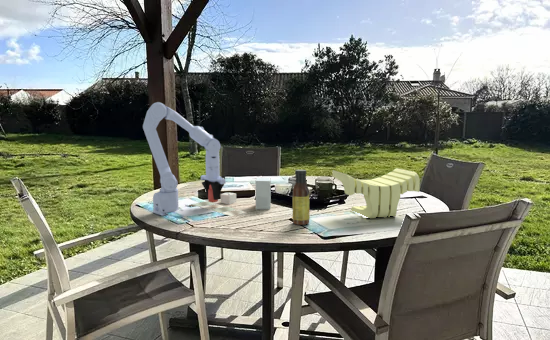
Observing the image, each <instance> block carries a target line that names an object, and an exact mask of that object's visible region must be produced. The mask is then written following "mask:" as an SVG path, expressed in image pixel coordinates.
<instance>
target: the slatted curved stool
mask: <svg viewBox="0 0 550 340" xmlns="http://www.w3.org/2000/svg"><path fill="white" fill-rule="evenodd" d="M332 177H333V178H335V179H337V180H338V181H340V183H342V186H343V190H344V194H345V195H347V196H352V195H355V194H357V195H359V194H360V195H363V198H364V200H365V203H366V204H365V205H360V206H357V205H355V206H351V208H350V210H352V211H355V212H357V213H360V214H362V215H364V216H366V217H368V218H370V219H377V218H376V217H384V218H391V217H390V216H395V217H396V216H397V212H398V211H397V210H398V205H399V202H400V200H401V195H404V194H405V193H408V192H416V193H417V192H418V193H419V192H420V182H421V179H420V176H419V174H418V173H417V172H415V171H411V170H407V169H403V168H399V167H397V168H394V169H393V170H392V171H390V172H388V173H386V174H384V175H381V176H380V177H375V178H371V179H357V178H355V177H353V176H351V175H349V174H347V173H344V172H340V171H337V170H334V169H332ZM387 216H388V217H387Z"/></svg>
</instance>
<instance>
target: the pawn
mask: <svg viewBox="0 0 550 340" xmlns="http://www.w3.org/2000/svg"><path fill="white" fill-rule="evenodd" d="M207 202H212V203H216V202H219V199H218V200H214V198H213V190H212V187H211V184H210V186H209V189H208V198H207Z"/></svg>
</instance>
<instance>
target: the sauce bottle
mask: <svg viewBox="0 0 550 340" xmlns="http://www.w3.org/2000/svg"><path fill="white" fill-rule="evenodd" d="M294 173H295V183H294V185H293V187H292V222H293V224H294V225H297V226H306V224H307V225H309V223H310V219H311V218H310V206H311V205H310V190H309V186H308V183H307V170H306V169H295V170H294Z"/></svg>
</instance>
